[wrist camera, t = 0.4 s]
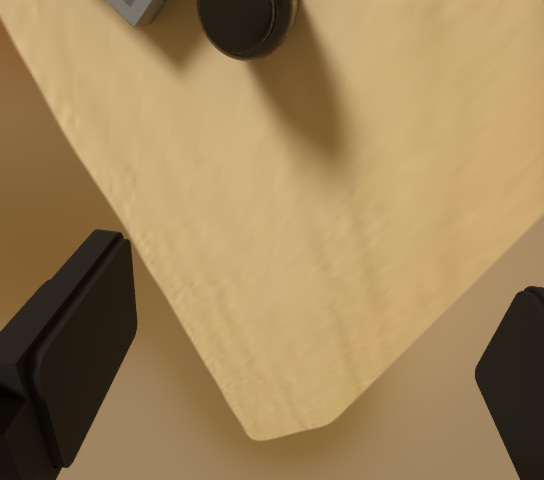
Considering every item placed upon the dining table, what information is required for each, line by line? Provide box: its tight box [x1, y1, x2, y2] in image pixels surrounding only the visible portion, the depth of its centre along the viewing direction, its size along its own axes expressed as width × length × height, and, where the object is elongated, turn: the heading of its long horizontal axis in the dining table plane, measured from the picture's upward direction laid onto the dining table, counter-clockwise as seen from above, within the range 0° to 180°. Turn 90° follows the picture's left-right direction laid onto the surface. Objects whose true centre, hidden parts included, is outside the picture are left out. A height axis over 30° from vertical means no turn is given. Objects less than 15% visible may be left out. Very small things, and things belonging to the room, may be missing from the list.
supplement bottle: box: [197, 0, 298, 61], centre depth 30 cm, size 7×7×12 cm
